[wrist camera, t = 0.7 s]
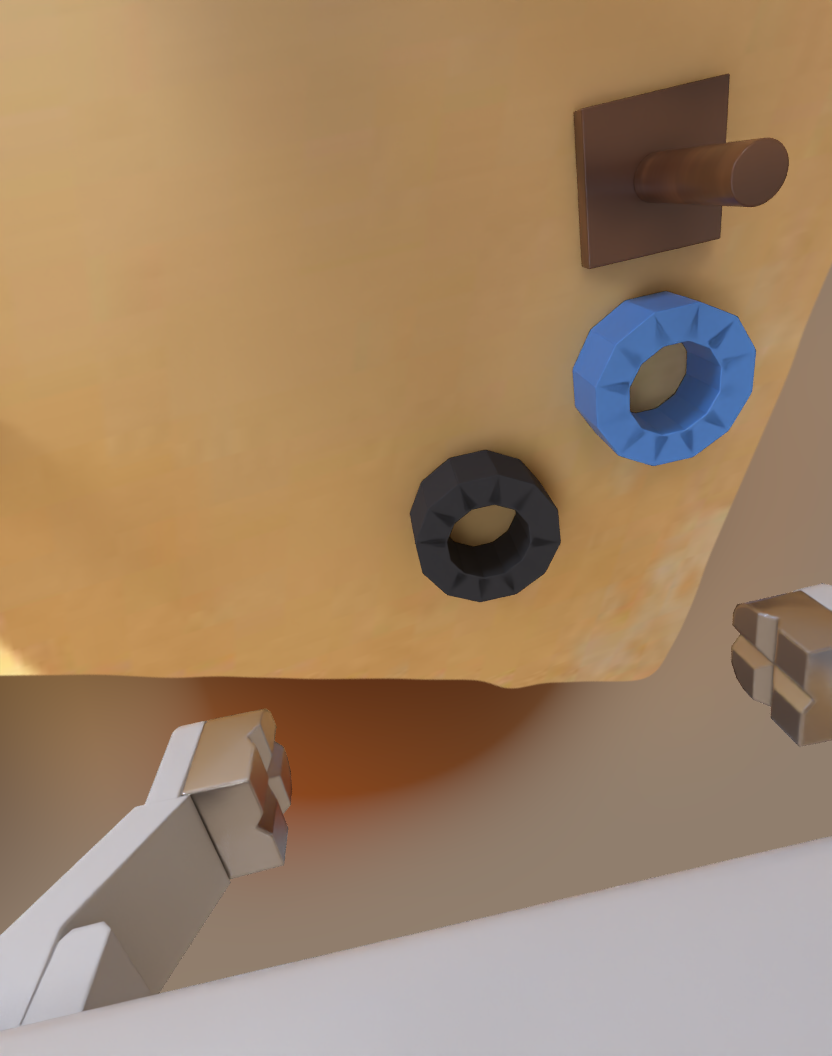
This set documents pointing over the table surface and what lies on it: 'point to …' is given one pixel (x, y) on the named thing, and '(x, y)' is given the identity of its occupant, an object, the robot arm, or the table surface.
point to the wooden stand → (665, 171)
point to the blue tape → (703, 395)
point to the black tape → (495, 563)
